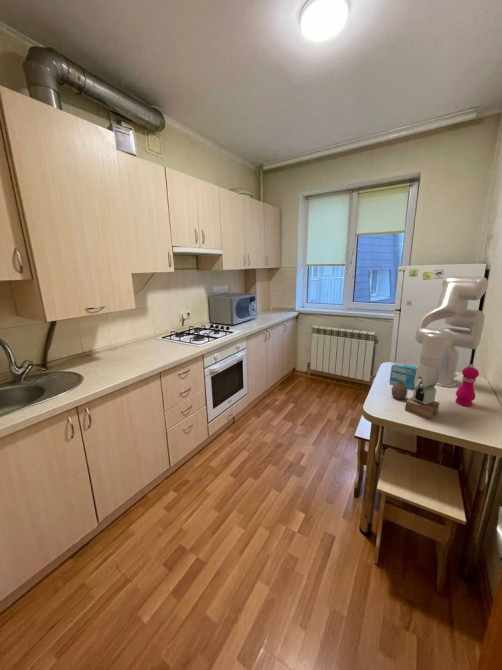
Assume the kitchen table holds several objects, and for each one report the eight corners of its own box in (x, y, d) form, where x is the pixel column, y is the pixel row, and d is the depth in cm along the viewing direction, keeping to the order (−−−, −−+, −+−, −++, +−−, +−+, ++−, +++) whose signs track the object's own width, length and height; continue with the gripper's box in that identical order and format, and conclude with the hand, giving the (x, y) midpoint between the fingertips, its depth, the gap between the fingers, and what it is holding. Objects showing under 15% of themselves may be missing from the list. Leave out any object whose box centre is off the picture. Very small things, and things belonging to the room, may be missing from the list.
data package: (389, 384, 147) (391, 364, 144) (390, 381, 150) (393, 361, 147) (413, 390, 140) (417, 369, 137) (414, 387, 143) (418, 366, 140)
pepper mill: (469, 401, 128) (478, 362, 123) (476, 408, 122) (485, 368, 116) (451, 398, 130) (459, 361, 125) (457, 405, 124) (466, 366, 119)
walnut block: (413, 404, 126) (415, 394, 125) (437, 412, 119) (439, 402, 118) (404, 411, 120) (406, 401, 119) (429, 420, 113) (431, 410, 112)
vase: (408, 401, 128) (411, 385, 126) (393, 400, 129) (395, 384, 127) (403, 395, 135) (405, 379, 132) (389, 393, 136) (391, 378, 134)
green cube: (420, 395, 122) (422, 383, 120) (434, 401, 117) (436, 389, 115) (412, 398, 119) (414, 386, 118) (426, 404, 114) (428, 392, 113)
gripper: (432, 355, 120) (426, 391, 125) (409, 361, 113) (403, 399, 118) (451, 360, 114) (443, 397, 118) (427, 367, 106) (420, 406, 111)
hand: (423, 398), depth 118 cm, fingers closed on green cube, 6 cm apart
